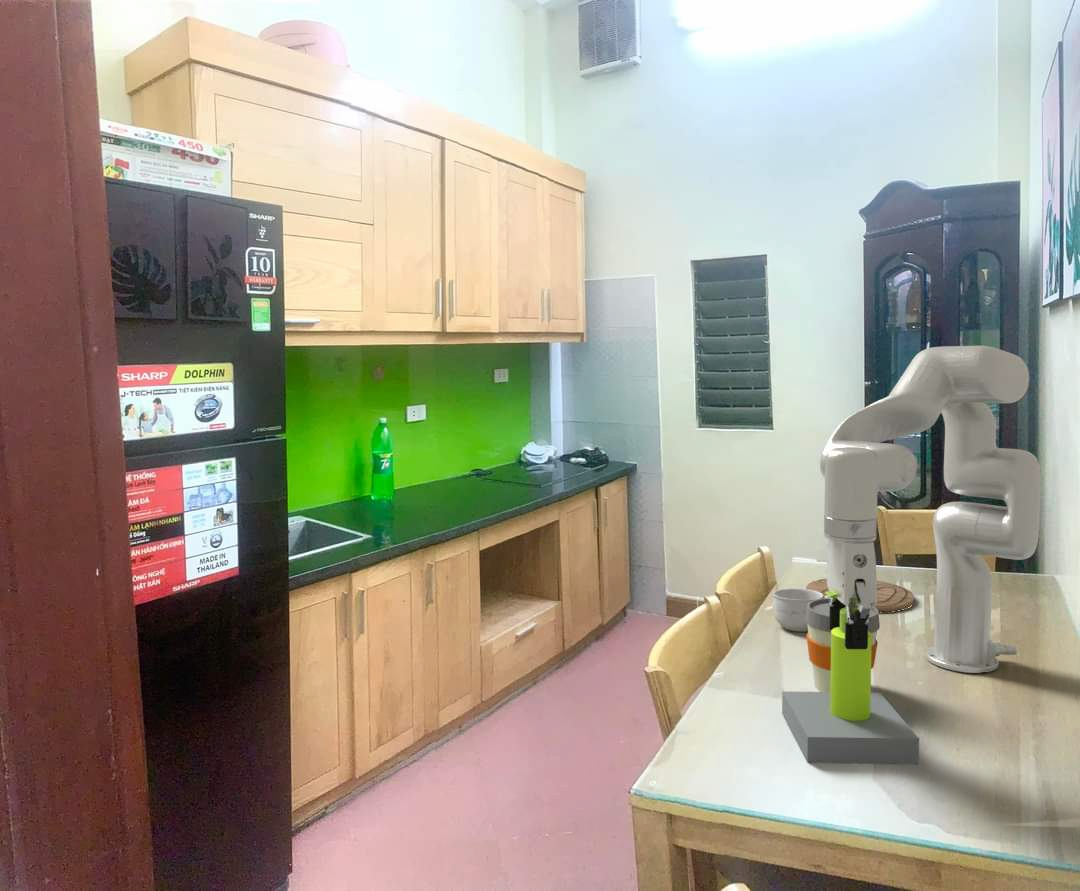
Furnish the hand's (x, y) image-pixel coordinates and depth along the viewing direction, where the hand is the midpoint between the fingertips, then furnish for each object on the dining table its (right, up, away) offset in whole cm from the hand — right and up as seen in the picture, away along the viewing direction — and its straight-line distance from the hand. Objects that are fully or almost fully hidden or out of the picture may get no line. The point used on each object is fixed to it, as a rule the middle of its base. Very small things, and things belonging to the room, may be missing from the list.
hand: (847, 638), depth 121 cm
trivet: (+32, -8, +73) cm, 80 cm away
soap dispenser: (0, -12, +1) cm, 12 cm away
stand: (0, -16, +2) cm, 16 cm away
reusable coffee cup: (+7, -14, +20) cm, 26 cm away
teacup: (+11, -11, +52) cm, 54 cm away
